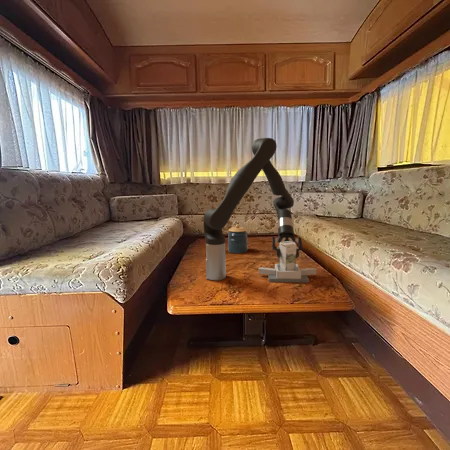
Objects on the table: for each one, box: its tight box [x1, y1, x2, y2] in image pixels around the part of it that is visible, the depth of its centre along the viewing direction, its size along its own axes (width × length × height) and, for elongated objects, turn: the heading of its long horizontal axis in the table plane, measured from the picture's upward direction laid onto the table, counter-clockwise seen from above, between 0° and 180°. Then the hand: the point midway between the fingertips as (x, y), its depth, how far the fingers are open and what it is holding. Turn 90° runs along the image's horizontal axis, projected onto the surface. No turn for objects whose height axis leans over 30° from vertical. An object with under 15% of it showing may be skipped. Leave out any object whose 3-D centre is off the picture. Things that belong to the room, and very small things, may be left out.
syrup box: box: [278, 241, 297, 271], centre depth 132 cm, size 6×6×14 cm
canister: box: [227, 223, 249, 254], centre depth 181 cm, size 13×13×18 cm
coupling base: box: [258, 263, 317, 284], centre depth 133 cm, size 27×12×5 cm, turn 85°
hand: (287, 257), depth 131 cm, fingers closed on syrup box, 7 cm apart
